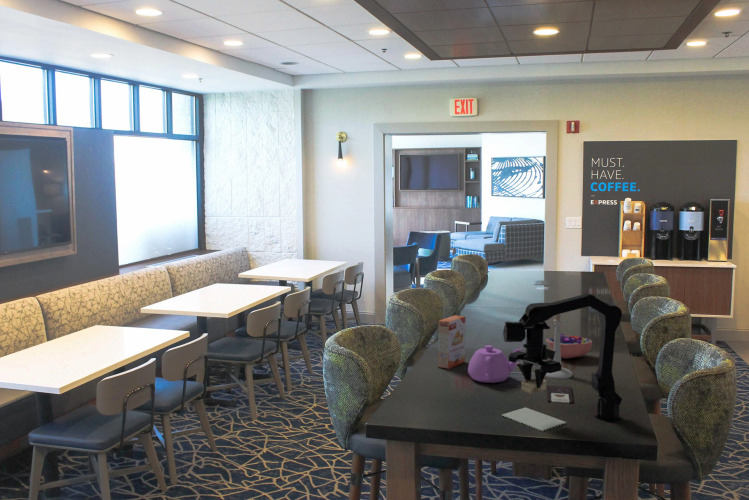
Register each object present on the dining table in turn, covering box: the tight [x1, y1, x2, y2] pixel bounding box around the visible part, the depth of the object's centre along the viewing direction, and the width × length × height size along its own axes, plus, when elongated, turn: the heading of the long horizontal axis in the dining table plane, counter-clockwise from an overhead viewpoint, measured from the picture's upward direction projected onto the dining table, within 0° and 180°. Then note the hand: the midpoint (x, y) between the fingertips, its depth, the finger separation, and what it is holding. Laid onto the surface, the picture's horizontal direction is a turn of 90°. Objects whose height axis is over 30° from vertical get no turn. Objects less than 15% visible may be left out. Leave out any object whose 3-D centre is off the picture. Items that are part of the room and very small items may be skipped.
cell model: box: [545, 332, 593, 360], centre depth 310 cm, size 17×20×11 cm
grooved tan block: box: [520, 377, 547, 395], centre depth 234 cm, size 8×4×3 cm, turn 126°
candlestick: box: [544, 314, 573, 380], centre depth 285 cm, size 13×13×30 cm
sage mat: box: [501, 407, 567, 432], centre depth 235 cm, size 18×12×1 cm, turn 36°
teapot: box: [467, 344, 523, 384], centre depth 280 cm, size 22×22×14 cm
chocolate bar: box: [546, 385, 574, 404], centre depth 260 cm, size 9×1×18 cm
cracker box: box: [437, 314, 466, 370], centre depth 301 cm, size 14×6×21 cm, turn 143°
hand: (533, 386), depth 234 cm, fingers closed on grooved tan block, 4 cm apart
